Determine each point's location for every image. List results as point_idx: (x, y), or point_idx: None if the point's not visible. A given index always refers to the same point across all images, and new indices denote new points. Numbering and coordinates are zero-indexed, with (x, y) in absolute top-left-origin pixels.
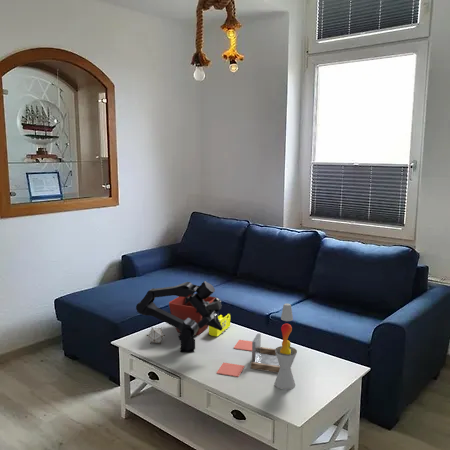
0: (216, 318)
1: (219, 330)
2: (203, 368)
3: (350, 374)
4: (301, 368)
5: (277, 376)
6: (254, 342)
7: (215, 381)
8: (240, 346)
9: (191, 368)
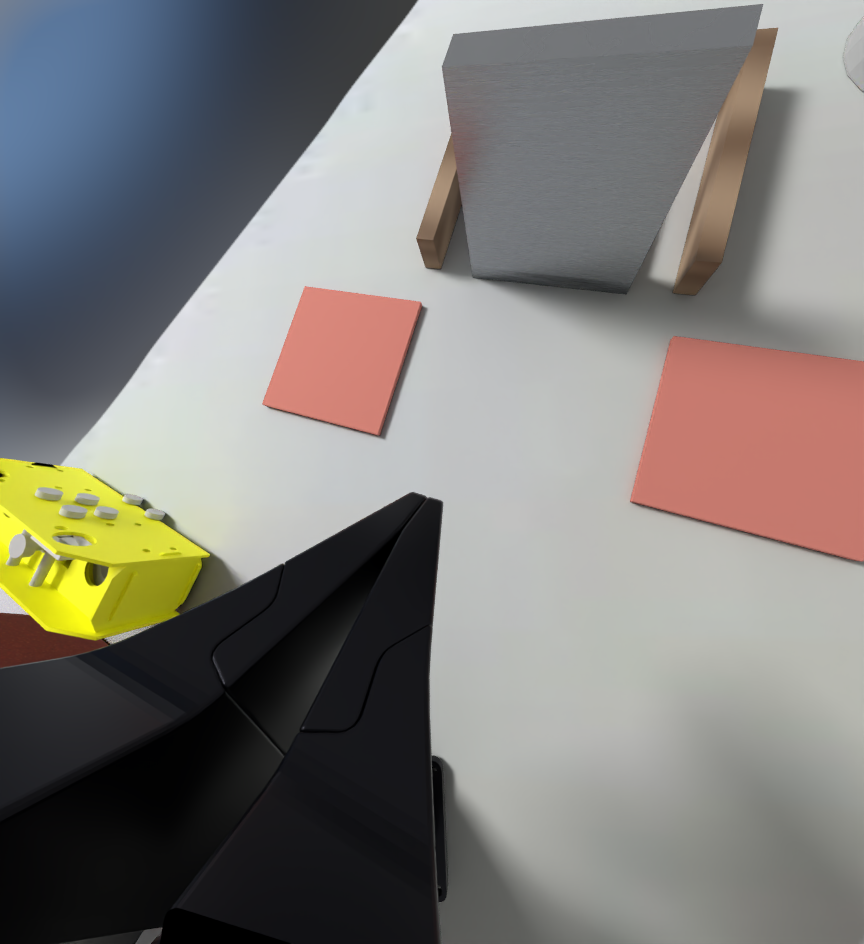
0: (170, 743)
1: (152, 539)
2: (761, 682)
3: None
4: (650, 9)
5: None
6: (758, 22)
7: None
8: (358, 389)
9: (782, 809)
